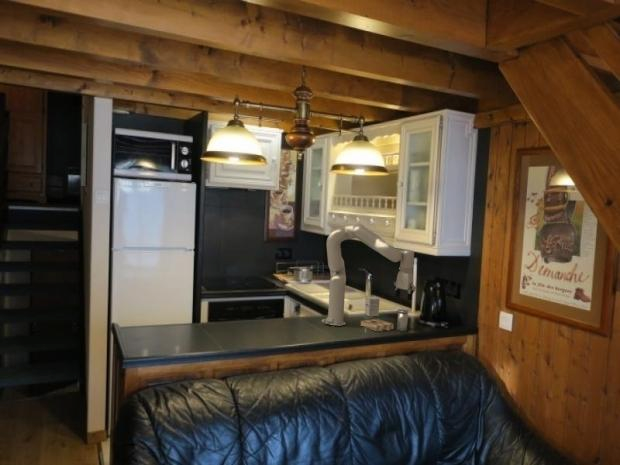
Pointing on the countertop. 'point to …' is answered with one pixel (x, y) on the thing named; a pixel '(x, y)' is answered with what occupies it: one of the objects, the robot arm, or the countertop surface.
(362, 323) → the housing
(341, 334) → the countertop surface
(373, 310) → the supplement box
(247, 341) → the countertop surface
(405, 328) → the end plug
